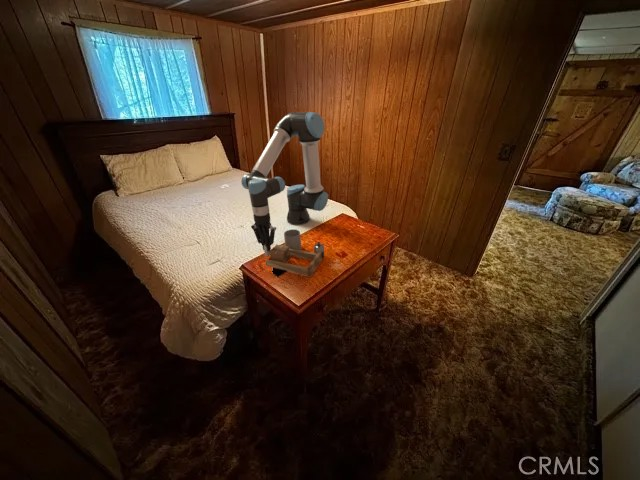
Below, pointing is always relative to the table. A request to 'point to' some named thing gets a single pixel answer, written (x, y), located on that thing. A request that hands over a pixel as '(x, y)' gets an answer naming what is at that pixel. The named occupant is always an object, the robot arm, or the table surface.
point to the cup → (292, 239)
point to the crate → (280, 253)
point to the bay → (298, 269)
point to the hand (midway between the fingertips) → (267, 255)
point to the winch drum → (319, 248)
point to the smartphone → (278, 272)
